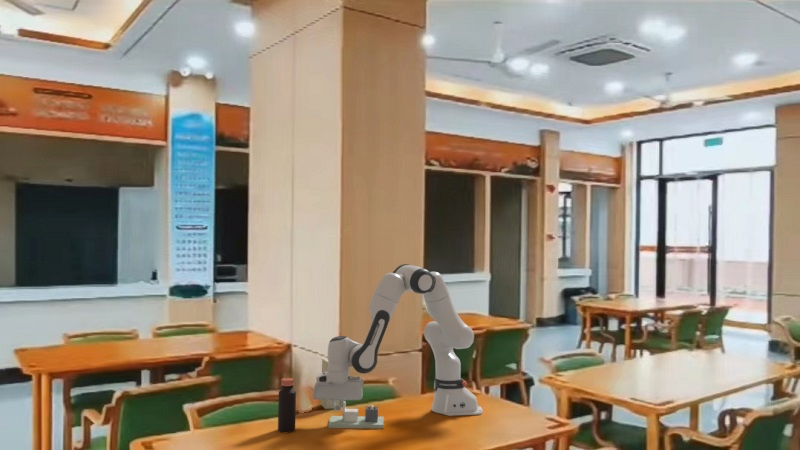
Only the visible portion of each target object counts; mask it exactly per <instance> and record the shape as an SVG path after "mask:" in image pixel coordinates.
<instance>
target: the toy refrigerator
mask: <svg viewBox="0 0 800 450" xmlns="http://www.w3.org/2000/svg"><path fill="white" fill-rule="evenodd" d="M327 368H328V357H327V358H325V357H324V358H322V361H321V373H324V372H327ZM335 404H336V405H340V404H341V402H340V400H335ZM320 405H321V406H322V407H323V409H325V410H330V409H331V410H332V409H333V410H334V406H333V404H332V402H331V400H320Z"/></svg>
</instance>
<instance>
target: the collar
mask: <svg viewBox="0 0 800 450" xmlns="http://www.w3.org/2000/svg"><path fill="white" fill-rule="evenodd" d="M364 415H365V422H378V417H379V406H373V409H370V406H365V414H364Z"/></svg>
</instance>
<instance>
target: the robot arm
mask: <svg viewBox="0 0 800 450" xmlns="http://www.w3.org/2000/svg"><path fill="white" fill-rule="evenodd" d="M406 291H408V292H412V293H415V294H421V295H422V294H423V300H424V301H425V302H424V303H425V306H426V308H427V312H428V314H429V316H430V317H431V318H432V319H433V321H429V322H428V323H427V324H425V326H424V330H423V335H424V339H425V341H427V343H428V344H429V346H430V347H431V350H432V352H433V356H434V361H435V377H434V381H433V382H434V383H433V390H434V394H433V395H434V396H433V402H432V406H431V411H432V412H434V413H436V414H441V415H445V416H447V417H449V416H450V417H451V416H452V417H454V416H474V415H478V416H479V415H482V414H483V413H484V412H483V408H482V406H481V405H478V400H477V397H476V395H475V394H474V393H473V392H472V391H470V390H469V389H468V388H466V387H467V385H468V384H467V381H465V379H463V378H462V377H461V373H462V372H461V371H462V370H461V367H462V366H461V365H462V363H461V360H460V358H459V357H458V356H457V354H456V353H455V352H454V349H456V350H463V349H468V348H470V347H471V346H472V344H474V339H475V333H474V330H473V329H472V327H470V326H469V325H467V324H466V323H465V322H464V321H463V320H462V318H461V317H460V316H459V314H458V312H457V310H456V308H455V307H454V304H453V301H452V298H451V296H450V292H449V289H448V287H447V284H446V281H445V280H444V278H443V276H442V275H441V273H440V272H437V271H429V270H428V269H426V268H422V267H420V266H417V265H412V264H408V263H406V264H405V263H403V264H400V265H398V266H397V267H395V268H394V271H392V272H387V273H386V274H384V276H383V277H382V278H381V280H380V281H379V282H378V284H377V286H376V288H375V289H374V292H373V294H372V296H371V299H370V303H369V306H368V310H369V314H370V319H371V320H370V327H369V329H368V332H367V334H366V336H365V339H364V342H363V343H360V342H357V341H354V340H353V339H351V338H349V337H348V336H346V335H340V336H335V337H332V338H331V339H330V340H329V342H328V347H327V358H328V368H327V372H324V373H322V372H321V373H320V372H319V374H317V376H316V378H315V380H316V381H315V383H314V386H313V390H312V398H313V399H314V400H317V401H318V400H319V401H321V400H331V402H332V404H333V406H334V409H333V411H336V412H337V411H338V412H340V411H342V407H343V403H344V401H361V400H362V399H363V396H364V395H363V387H364V379H363V377H360V376H350V368H351V367H353V369H354V370H355V371H356V372H358V373H359V374H369V373H371V372H373V370H375V368H376V366H377V364H378V354H379V348H380V346H381V343H382V341H383V338H384V335H385V333H386V330H387V328H388V325H389V323H390V321H391V319H392V317H393V314H395V311H396V309H397V306H398V304H399V302H400V300H401V297H402V296H403V294H404V293H405V292H406ZM335 400H340V405H336V404H335Z"/></svg>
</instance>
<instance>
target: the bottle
mask: <svg viewBox="0 0 800 450" xmlns="http://www.w3.org/2000/svg"><path fill="white" fill-rule="evenodd" d="M294 381H295V379H294V378H292V377H286V378H285V377H284V378H281V379H280V386H281V389H280V390H279V391H278V407H277V408H278V409H277V431H278V432H279V431H280V433H283V432H288V433H292V432H294V431H296V418H297V417H296V414H297V413H296V411H297V409H296V408H297V406H296V405H297V392H296V390H295V389H294V384H295V382H294Z"/></svg>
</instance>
